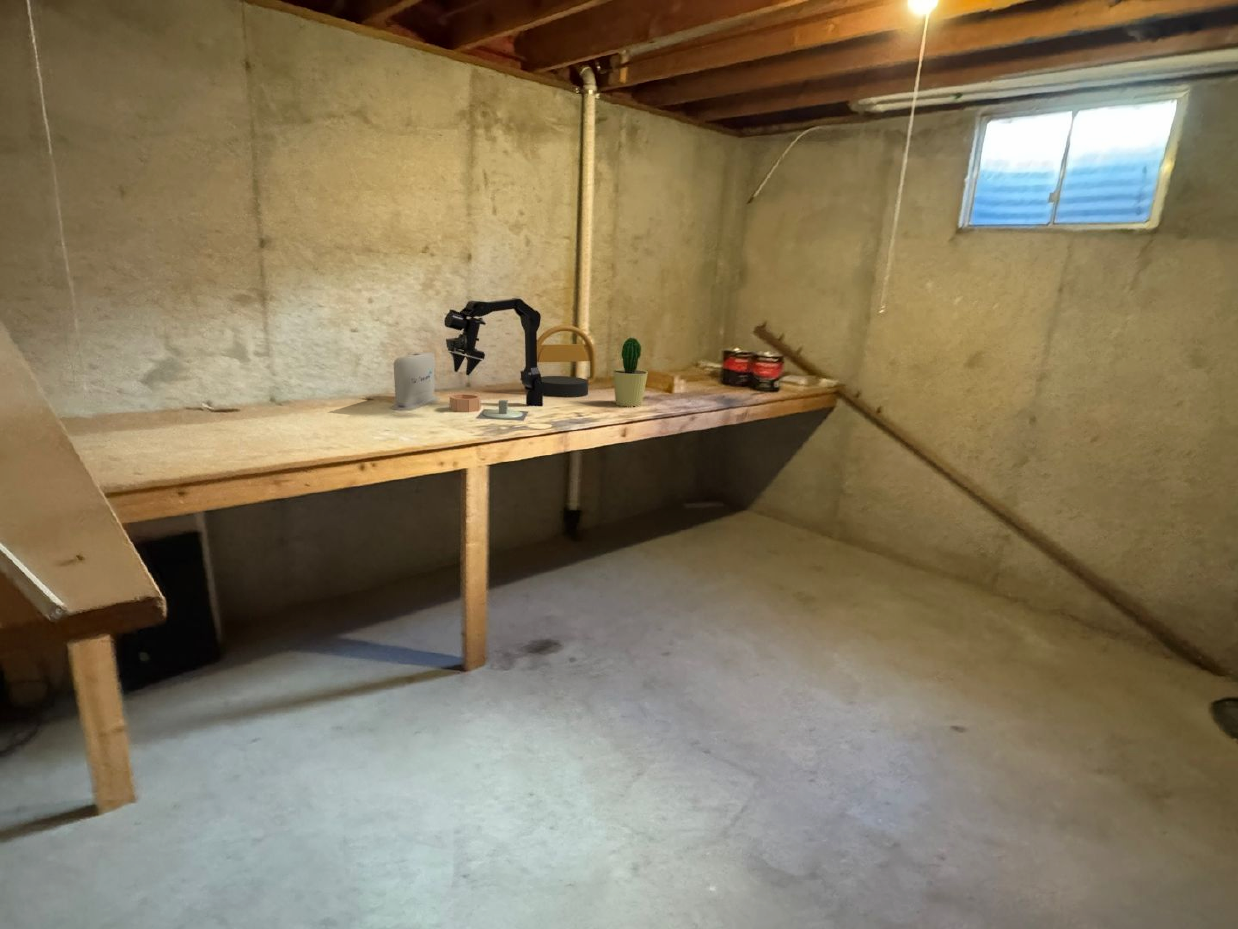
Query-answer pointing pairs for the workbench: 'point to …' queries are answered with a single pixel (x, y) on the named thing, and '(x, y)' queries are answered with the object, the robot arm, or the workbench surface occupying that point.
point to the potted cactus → (629, 376)
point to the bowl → (465, 403)
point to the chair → (566, 353)
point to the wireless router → (414, 381)
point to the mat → (481, 416)
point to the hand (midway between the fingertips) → (461, 373)
